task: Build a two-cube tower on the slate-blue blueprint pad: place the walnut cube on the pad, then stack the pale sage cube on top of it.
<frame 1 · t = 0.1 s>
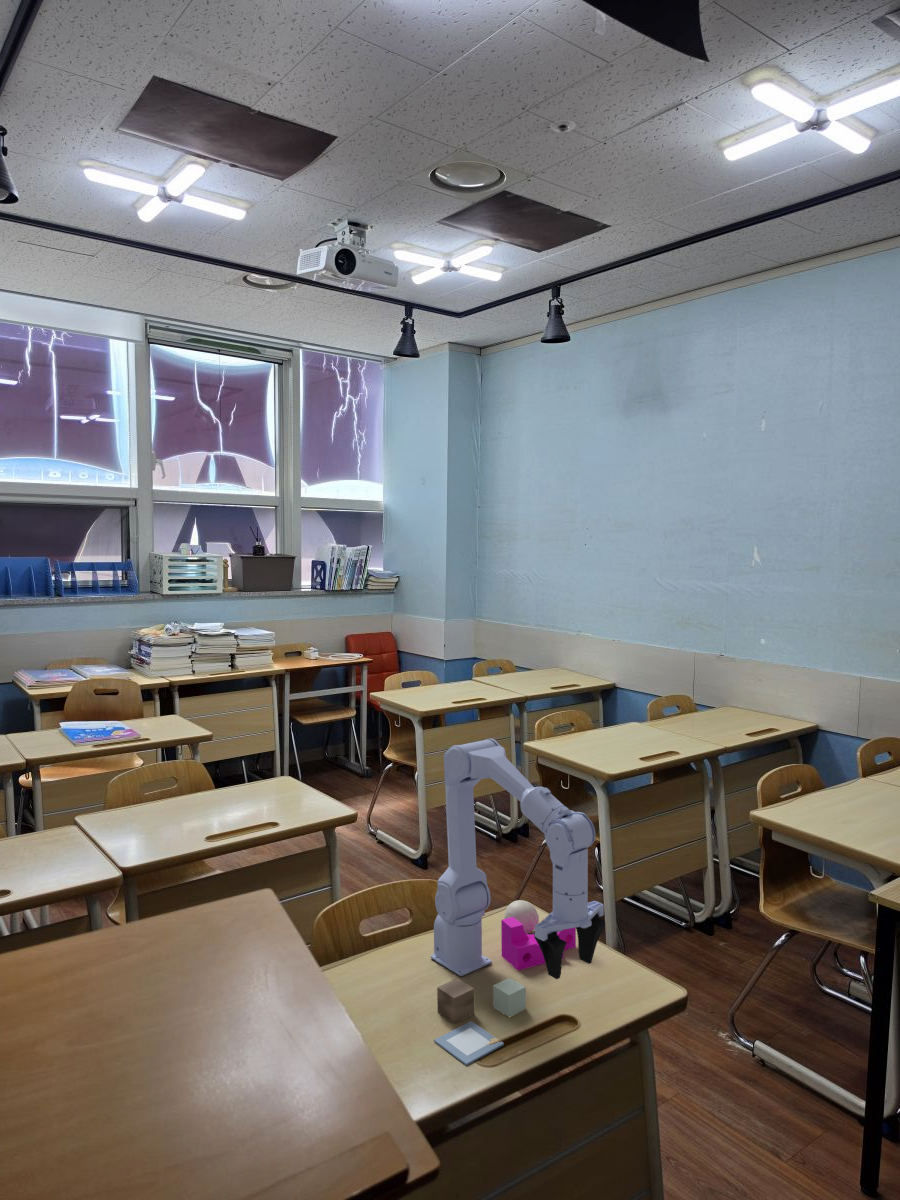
hand: (570, 968, 131), 10 cm above the table, tool pointing down, fingers open, 7 cm apart
sage cube: (509, 1008, 138), on the table
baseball: (522, 934, 165), on the table
toy block: (542, 956, 156), on the table
walnut cube: (455, 1013, 136), on the table
blueprint pad: (468, 1043, 128), on the table
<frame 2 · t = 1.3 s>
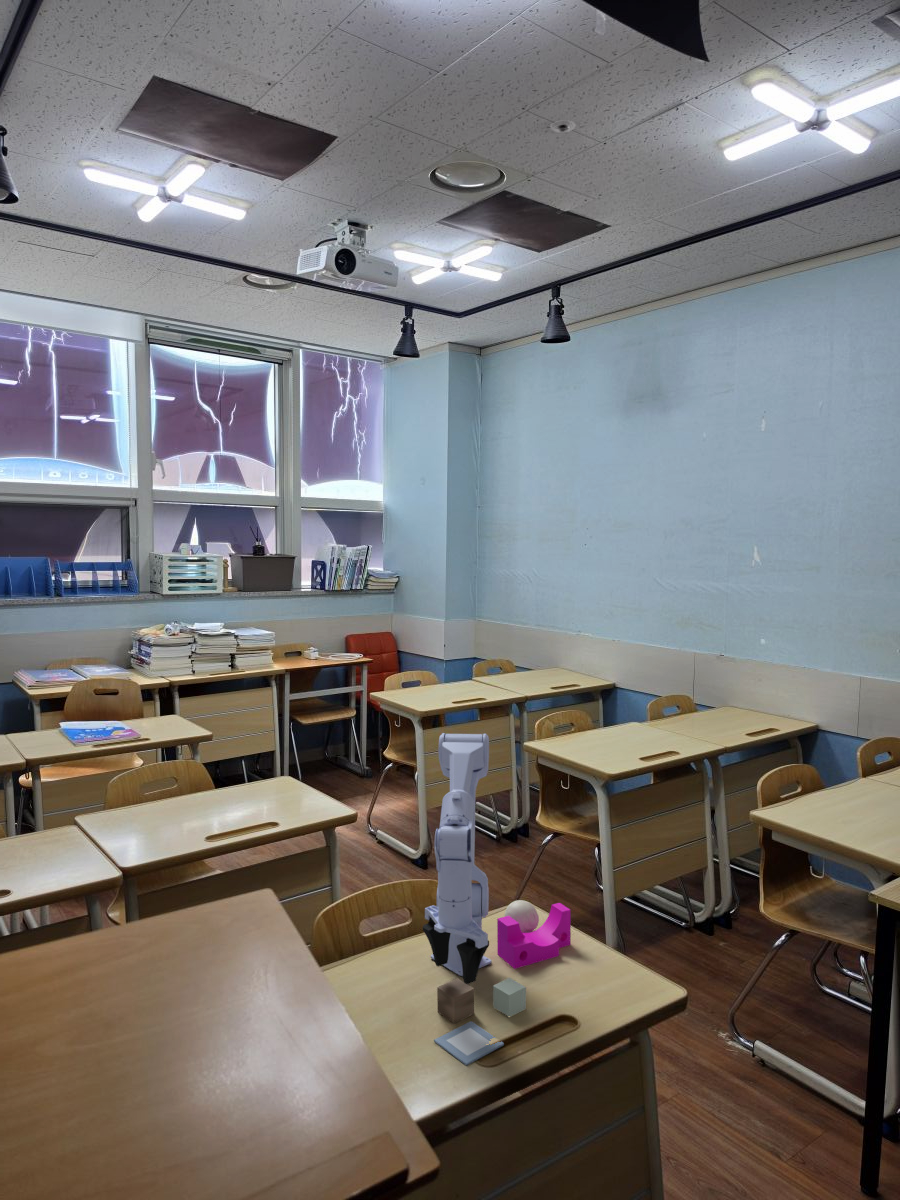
hand: (455, 972, 136), 7 cm above the table, tool pointing down, fingers open, 7 cm apart
toy block: (538, 954, 157), on the table
everything else where it was.
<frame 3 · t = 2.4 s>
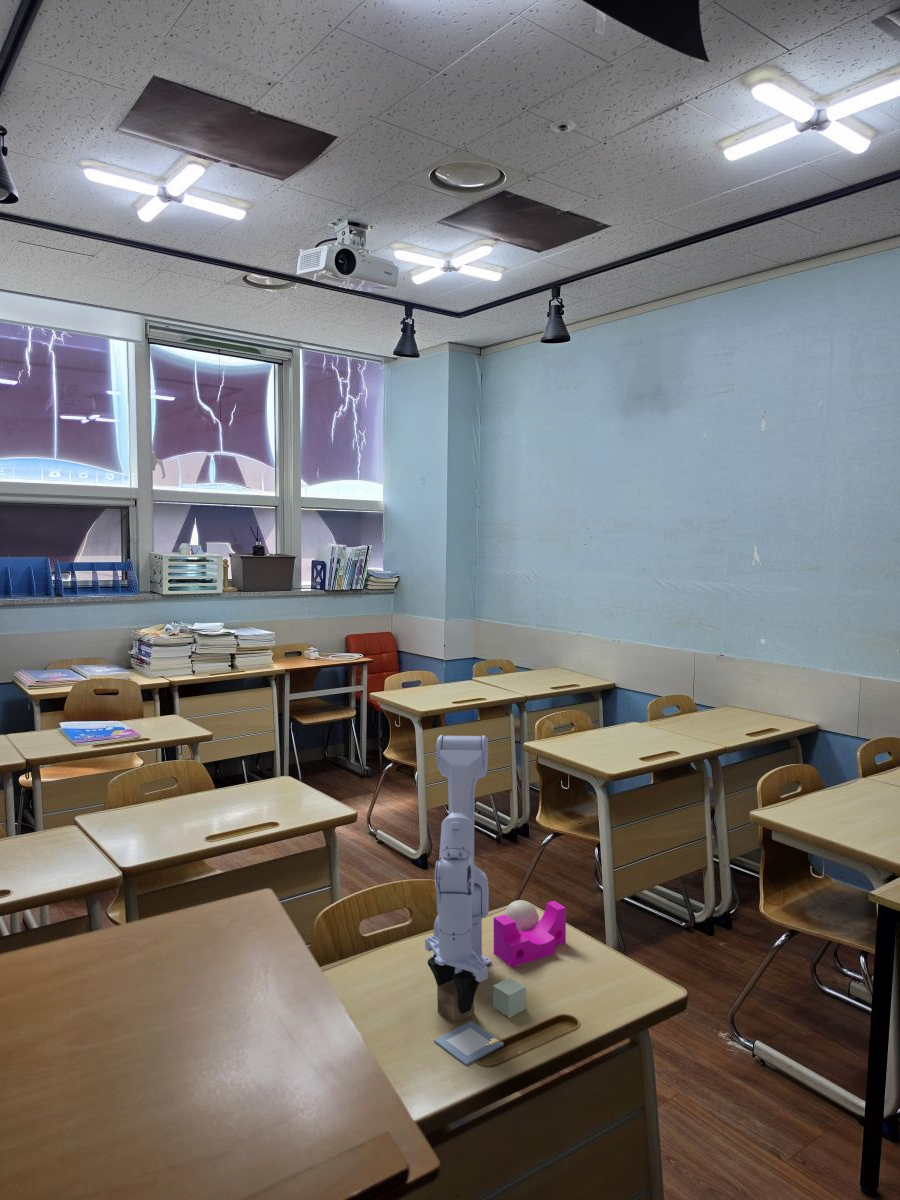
hand: (455, 1004, 136), 1 cm above the table, tool pointing down, fingers closed on walnut cube, 4 cm apart
toy block: (533, 952, 158), on the table
walnut cube: (455, 1012, 136), on the table, touching gripper
everything else where it was.
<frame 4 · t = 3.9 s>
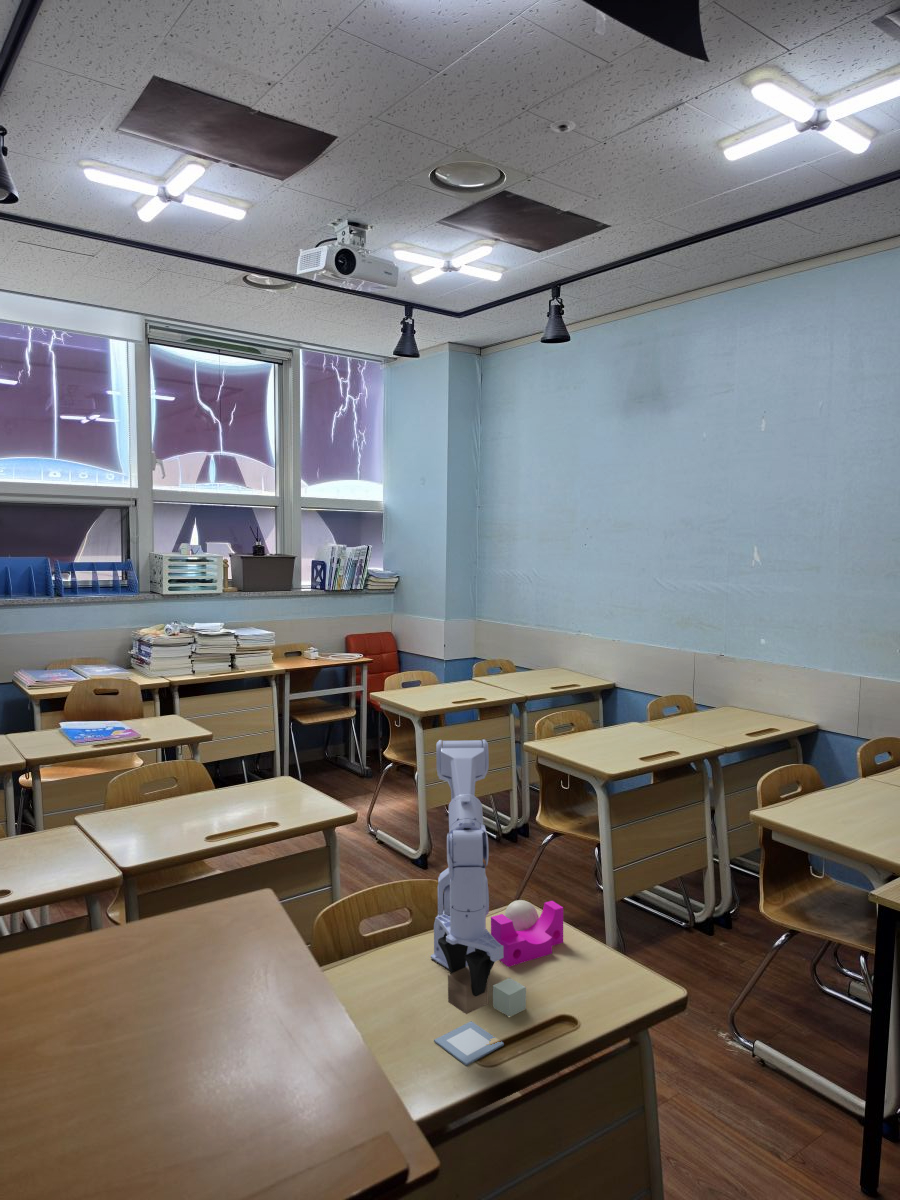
hand: (468, 986, 127), 9 cm above the table, tool pointing down, fingers closed on walnut cube, 4 cm apart
walnut cube: (467, 1002, 127), point 7 cm above the table, touching gripper
everything else where it was.
when the fingers open (3 cm above the table, at t = 5.5 s): walnut cube stays where it is, resting on blueprint pad.
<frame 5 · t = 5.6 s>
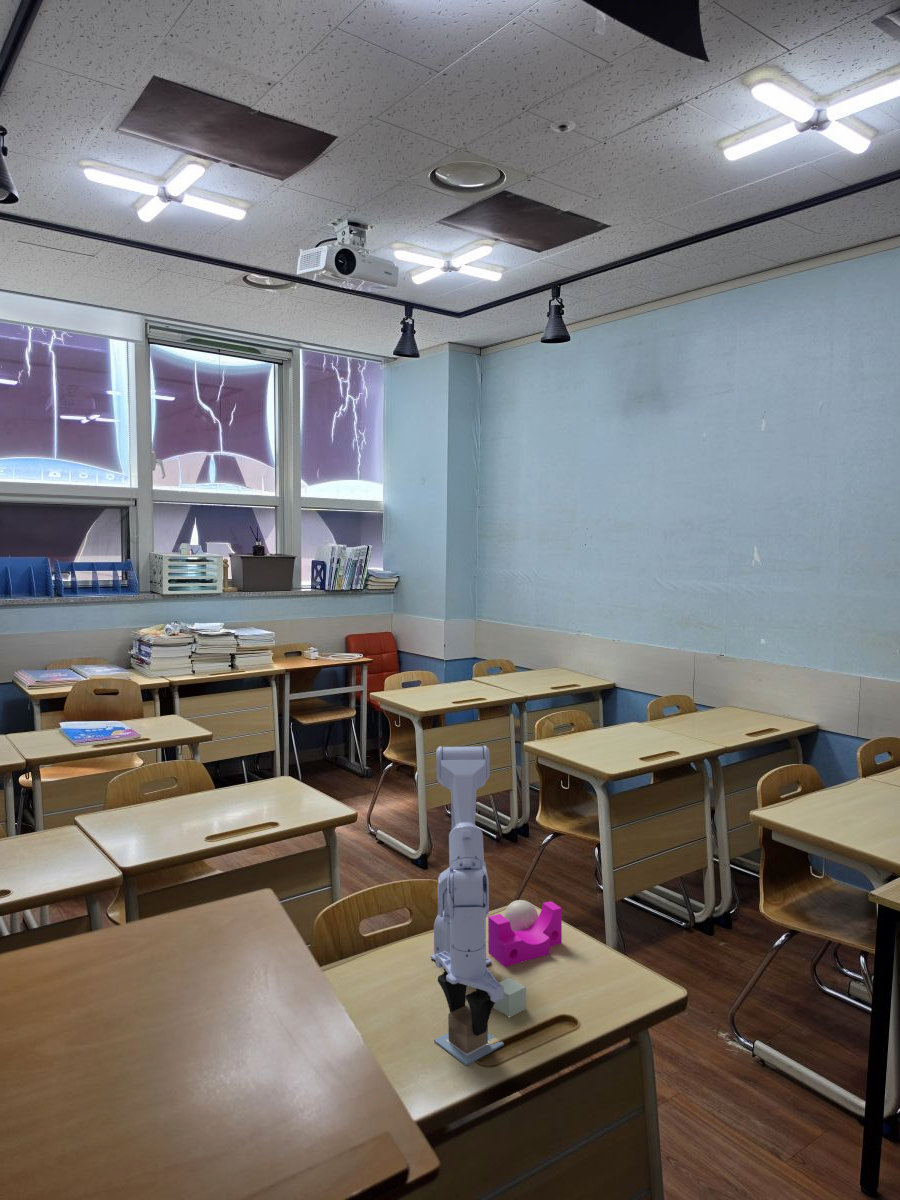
hand: (468, 1025, 127), 3 cm above the table, tool pointing down, fingers open, 5 cm apart
walnut cube: (468, 1041, 127), resting on blueprint pad
everything else where it was.
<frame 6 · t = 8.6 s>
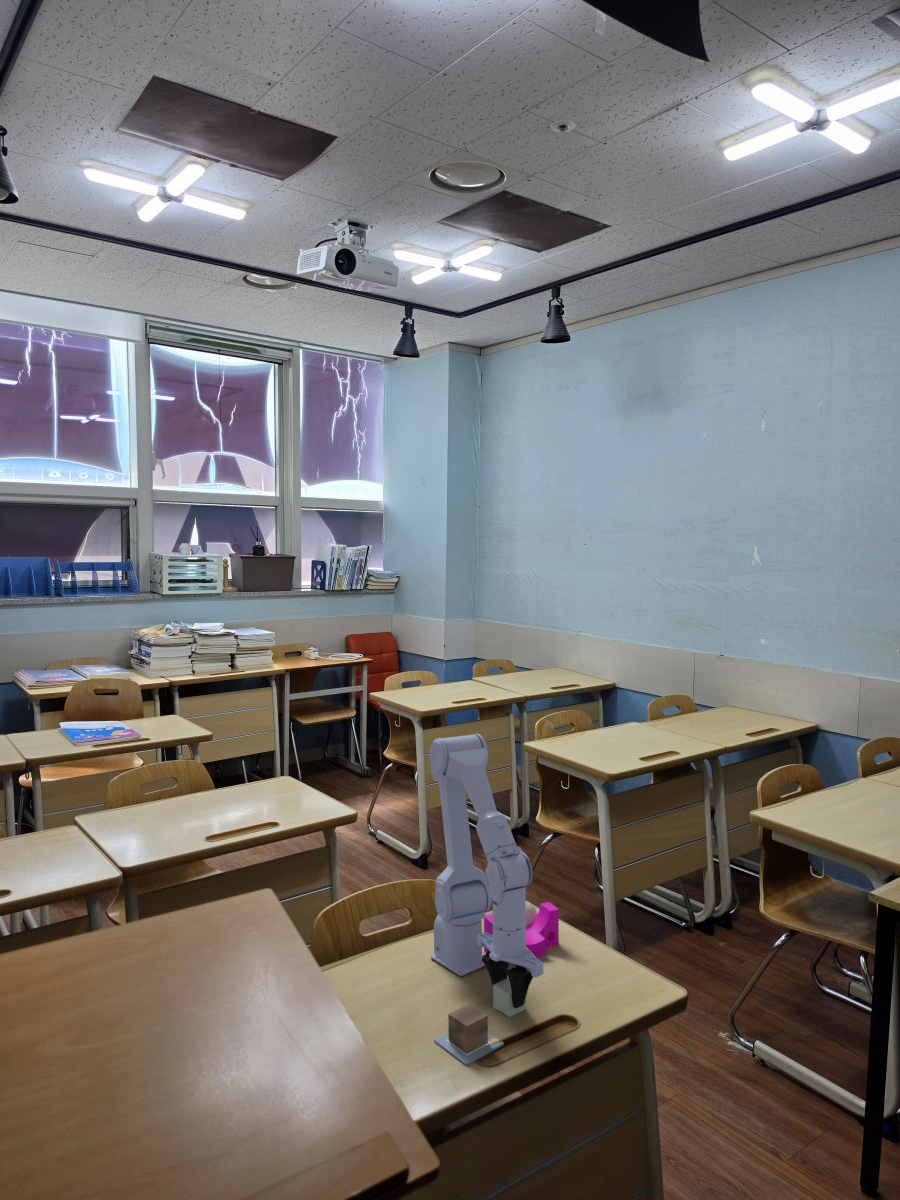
hand: (509, 1000, 137), 1 cm above the table, tool pointing down, fingers closed on sage cube, 4 cm apart
sage cube: (509, 1008, 138), on the table, touching gripper
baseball: (522, 934, 165), on the table, touching toy block
toy block: (524, 952, 158), on the table, touching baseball
everything else where it was.
when the fingers open (7 cm above the table, at t = 11.5 s): sage cube stays where it is, resting on walnut cube.
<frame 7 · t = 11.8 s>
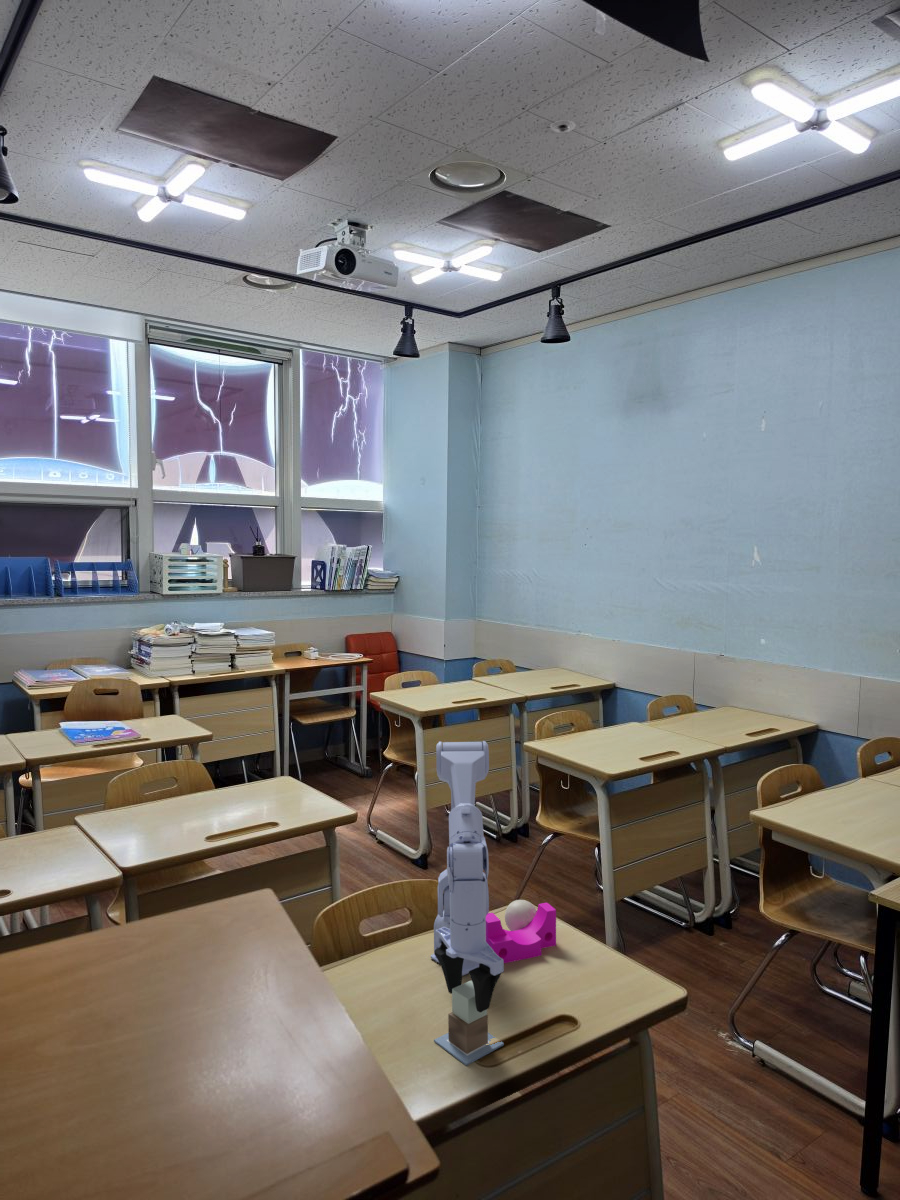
hand: (468, 999, 127), 7 cm above the table, tool pointing down, fingers open, 6 cm apart
sage cube: (469, 1013, 128), point 5 cm above the table, touching walnut cube
walnut cube: (468, 1041, 127), resting on blueprint pad, touching sage cube
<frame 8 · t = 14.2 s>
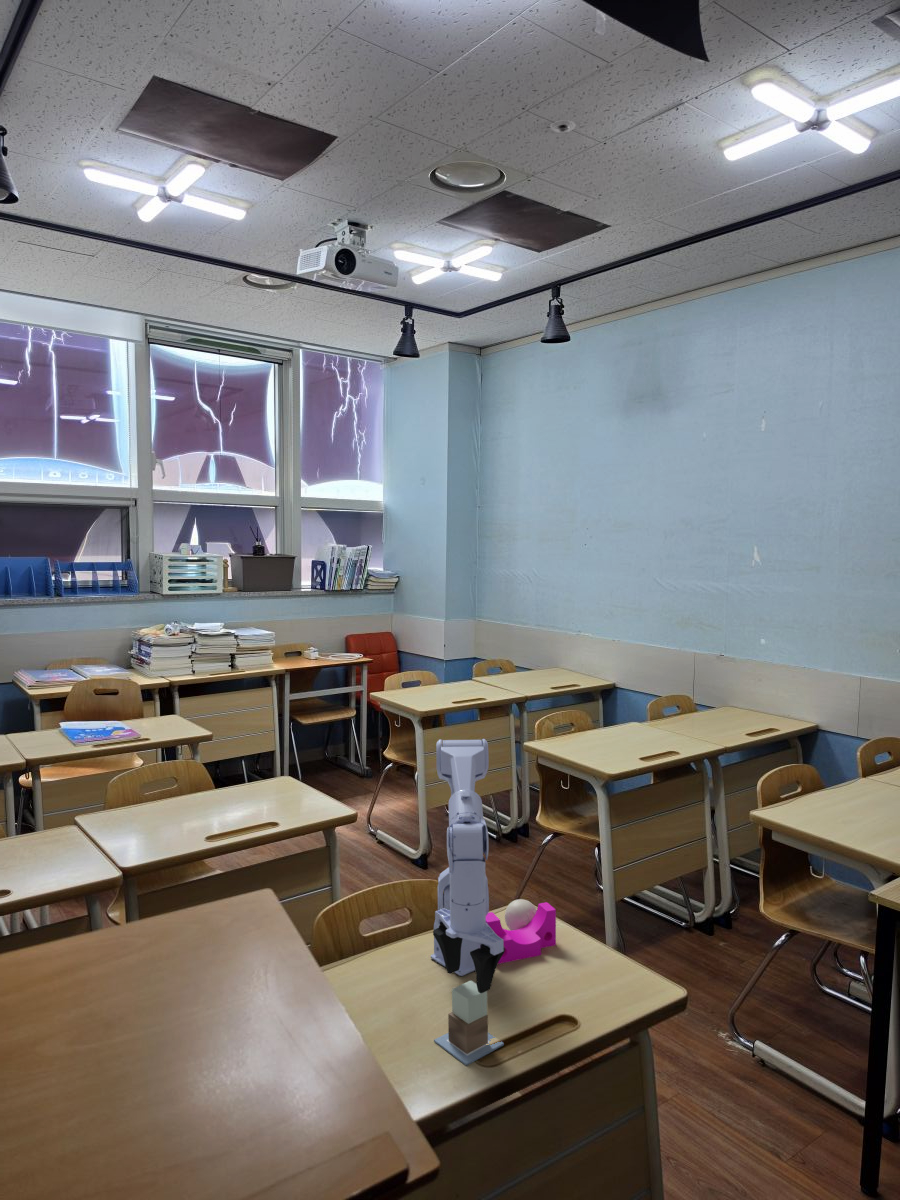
hand: (468, 980, 127), 10 cm above the table, tool pointing down, fingers open, 7 cm apart
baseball: (522, 933, 165), on the table
toy block: (520, 952, 158), on the table
everything else where it was.
at the end: walnut cube 0.1 cm off-centre on the blueprint pad, point 0.3 cm above the blueprint pad's base; sage cube 0.4 cm off-centre on the walnut cube, point 4.5 cm above the walnut cube's base; sage cube tilted 0° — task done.
